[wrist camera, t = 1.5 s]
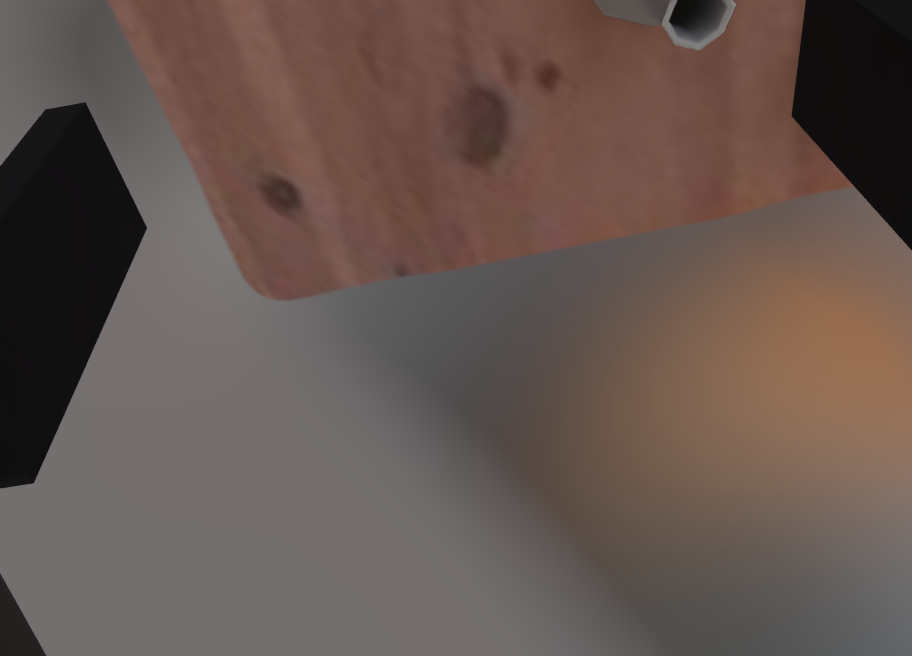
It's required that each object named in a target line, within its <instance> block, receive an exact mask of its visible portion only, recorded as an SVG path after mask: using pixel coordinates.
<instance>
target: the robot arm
mask: <svg viewBox="0 0 912 656" xmlns="http://www.w3.org/2000/svg"><path fill="white" fill-rule="evenodd" d="M792 117H793V118H794V120H795V121H796V122H797V123H798V124H799V125H800V126H801V127H802V128H803V130H804V131H805V132H806V133H807V134H808V135H809V136H810V137H811V139H812V140H813V141H814V142H815V143H816V144H817V145H818V146H819V147H820V149H821V150H822V151H823V152H824V153H825V154H826V155H827V156H828V157H829V159H830V160H831V161H832V162H833V163H834V164H835V165H836V166H837V168H838V169H839V170H840V171H841V172H842V173H843V174H844V175H845V176H846V178H847V179H848V180H849V181H850V182H851V183H852V184H853V185H854V187H855V188H856V189H857V190H858V191H859V192H860V193H861V194H862V195H863V197H864V198H865V199H866V200H867V201H868V202H869V203H870V204H871V205H872V206H873V208H874V209H875V210H876V211H877V212H878V213H879V214H880V215H881V217H882V218H883V219H884V220H885V221H886V222H887V223H888V224H889V226H890V227H892V229H893V230H894V231H895V232H896V233H897V234H898V236H899V237H900V238H901V239H902V240H903V241H904V242H905V243H906V244H907V246H908V247H909V248H910V249H911V250H912V0H806V5H805V13H804V21H803V29H802V37H801V45H800V53H799V61H798V69H797V77H796V85H795V93H794V101H793V109H792ZM146 229H147V227H146V225H145V223H144V221H143V219H142V217H141V215H140V213H139V211H138V209H137V207H136V205H135V202H134V200H133V198H132V196H131V195H130V192H129V190H128V188H127V186H126V184H125V182H124V180H123V178H122V176H121V174H120V172H119V170H118V168H117V166H116V164H115V162H114V160H113V158H112V156H111V154H110V152H109V149H108V147H107V146H106V143H105V141H104V140H103V137H102V135H101V133H100V131H99V129H98V127H97V125H96V123H95V121H94V119H93V117H92V115H91V113H90V111H89V109H88V107H87V105H86V103H79V104H74V105H68V106H63V107H57V108H52V109H46V110H45V111H44V112H43V113H42V115H41V116H40V117H39V118H38V120H37V121H36V122H35V123H34V125H33V126H32V127H31V128H30V130H29V131H28V132H27V133H26V135H25V136H24V137H23V138H22V140H21V141H20V142H19V143H18V145H17V146H16V147H15V149H14V150H13V151H12V152H11V153H10V155H9V156H8V157H7V159H6V160H5V161H4V162H3V164H2V165H1V166H0V488H6V487H12V486H19V485H25V484H32V483H34V481H35V479H36V477H37V475H38V472H39V470H40V468H41V466H42V463H43V461H44V459H45V457H46V454H47V452H48V450H49V448H50V445H51V443H52V441H53V438H54V436H55V434H56V432H57V430H58V427H59V425H60V423H61V421H62V418H63V416H64V414H65V412H66V409H67V407H68V405H69V403H70V400H71V398H72V396H73V394H74V391H75V389H76V387H77V385H78V382H79V380H80V378H81V375H82V373H83V371H84V369H85V366H86V364H87V362H88V359H89V357H90V355H91V353H92V351H93V348H94V346H95V344H96V342H97V339H98V337H99V335H100V333H101V330H102V328H103V326H104V324H105V321H106V319H107V317H108V315H109V312H110V310H111V308H112V306H113V303H114V301H115V299H116V297H117V294H118V292H119V290H120V288H121V285H122V283H123V281H124V279H125V276H126V274H127V272H128V269H129V267H130V265H131V263H132V261H133V258H134V256H135V253H136V252H137V249H138V247H139V245H140V242H141V240H142V238H143V236H144V233H145V231H146ZM0 656H46V654H45V653H44V651H43V649H42V647H41V645H40V644H39V642H38V640H37V638H36V637H35V635H34V633H33V631H32V629H31V628H30V626H29V624H28V622H27V621H26V619H25V617H24V615H23V613H22V612H21V610H20V608H19V606H18V604H17V603H16V601H15V599H14V597H13V595H12V594H11V592H10V590H9V588H8V587H7V585H6V583H5V581H4V579H3V578H2V576H1V574H0Z"/></svg>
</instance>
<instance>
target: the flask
mask: <svg viewBox="0 0 912 656" xmlns="http://www.w3.org/2000/svg"><path fill="white" fill-rule="evenodd" d="M594 2H595V3H596V5H597V6H598V8H599V9H600V11H601V12H602V14H603V15H606V16H610V17H614V18H619V19H623V20H627V21H631V22H635V23H639V24H643V25H648V26H655V25H662V26H663V28H664V29H665V31H666V33H667V34H668V36H669V37H670V39H671V40H672V42H673V43H674V44H675V45H678V46H682V47H686V48H690V49H695V50H699V51H700V50H701V49H702V48H704V47H705V46H706V45H708V44H709V43H711V42H712V41H713V40H715V39H716V38H717V37H719V36H720V35H721V34H723V33H724V31H725V29H726V26H727V24H728V22H729V20H730V18H731V15H732V13H733V11H734V9H735V6H736V5H735V3H734V1H733V0H594Z"/></svg>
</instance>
